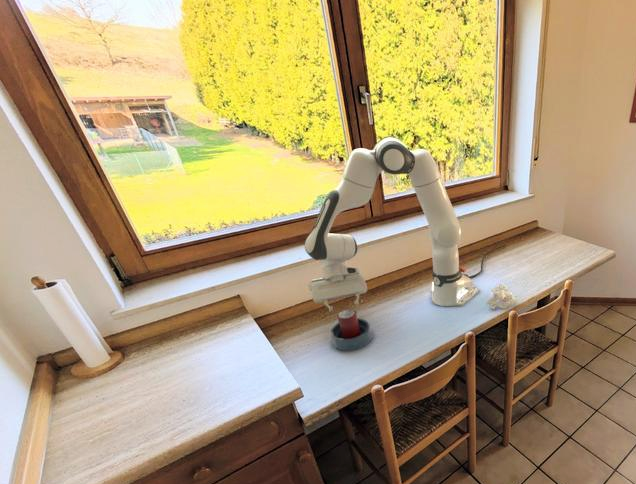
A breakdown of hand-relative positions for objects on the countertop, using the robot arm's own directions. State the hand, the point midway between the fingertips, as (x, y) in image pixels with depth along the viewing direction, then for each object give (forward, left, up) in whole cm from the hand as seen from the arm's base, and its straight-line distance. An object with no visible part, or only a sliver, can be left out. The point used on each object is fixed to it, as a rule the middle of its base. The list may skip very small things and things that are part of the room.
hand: (344, 308), depth 138 cm
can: (+4, +10, -8) cm, 13 cm away
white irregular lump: (-53, +37, -8) cm, 65 cm away
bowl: (+4, +10, -8) cm, 13 cm away
